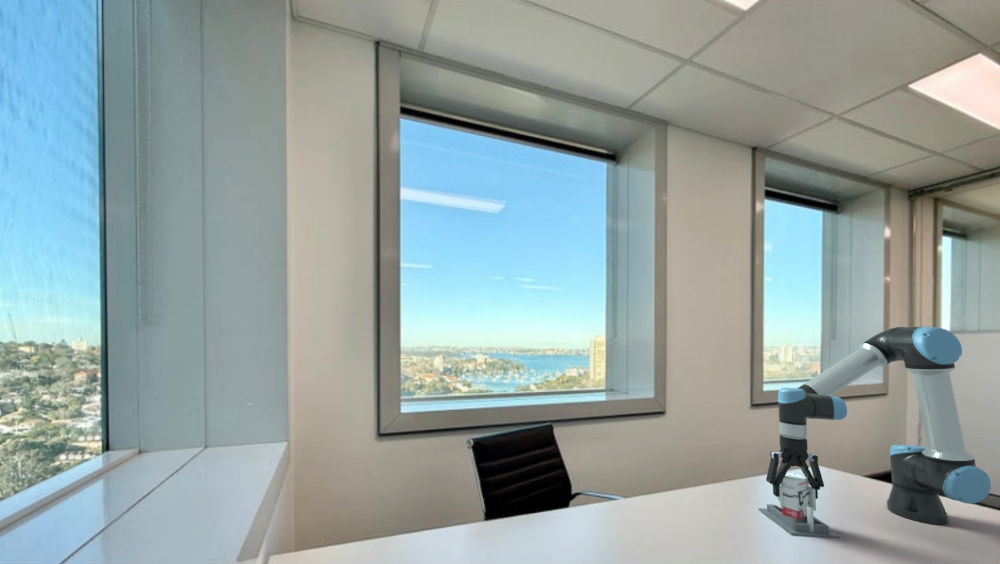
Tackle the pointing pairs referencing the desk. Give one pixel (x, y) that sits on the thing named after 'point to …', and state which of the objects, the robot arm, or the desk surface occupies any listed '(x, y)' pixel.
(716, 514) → the desk surface
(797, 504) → the ink box
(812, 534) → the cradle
